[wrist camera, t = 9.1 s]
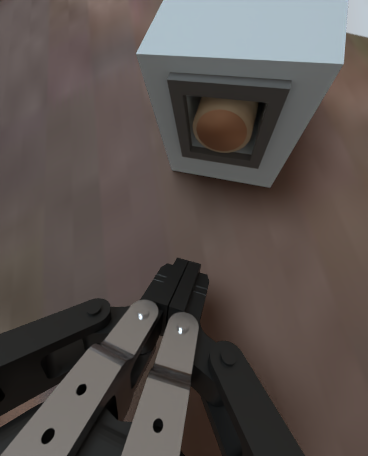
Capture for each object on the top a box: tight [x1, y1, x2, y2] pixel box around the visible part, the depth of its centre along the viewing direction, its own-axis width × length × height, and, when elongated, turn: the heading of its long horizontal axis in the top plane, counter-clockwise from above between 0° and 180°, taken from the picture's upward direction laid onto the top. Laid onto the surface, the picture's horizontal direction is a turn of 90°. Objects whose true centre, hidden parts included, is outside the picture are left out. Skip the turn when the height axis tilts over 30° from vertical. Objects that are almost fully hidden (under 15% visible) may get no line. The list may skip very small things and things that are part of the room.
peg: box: [193, 97, 259, 153], centre depth 14 cm, size 12×4×4 cm, turn 164°
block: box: [136, 0, 348, 188], centre depth 16 cm, size 15×10×10 cm
